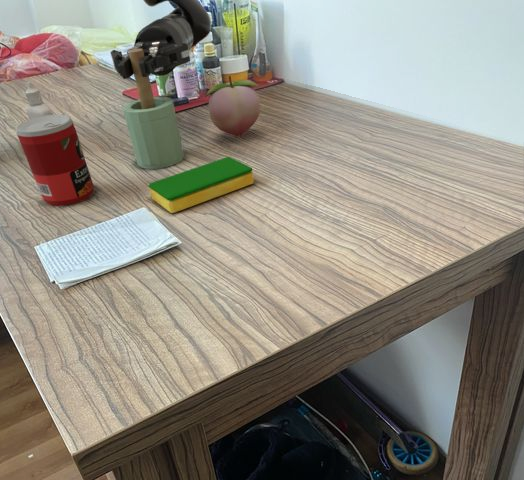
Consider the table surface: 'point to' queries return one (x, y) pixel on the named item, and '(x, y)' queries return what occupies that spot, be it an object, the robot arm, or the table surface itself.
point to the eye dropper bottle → (36, 103)
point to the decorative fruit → (234, 106)
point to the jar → (154, 133)
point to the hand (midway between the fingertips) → (133, 70)
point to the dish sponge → (201, 184)
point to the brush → (141, 80)
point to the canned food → (56, 159)
